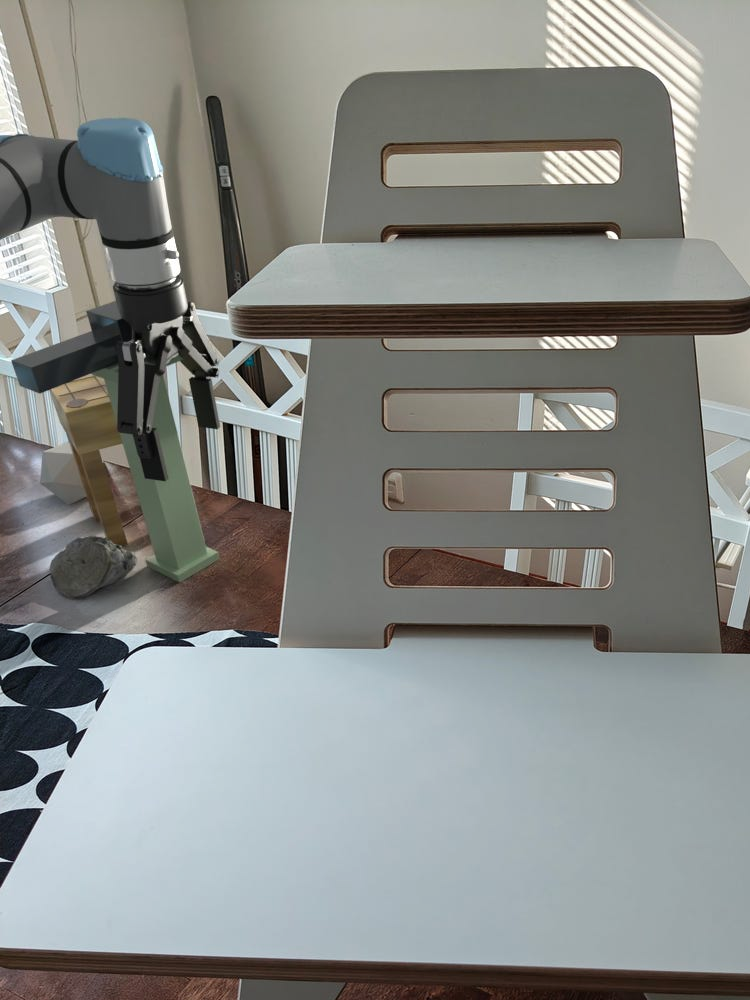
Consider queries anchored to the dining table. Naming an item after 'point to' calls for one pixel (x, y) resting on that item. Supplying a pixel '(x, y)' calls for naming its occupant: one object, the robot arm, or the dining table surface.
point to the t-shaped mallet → (75, 352)
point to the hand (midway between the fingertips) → (184, 451)
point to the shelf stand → (165, 492)
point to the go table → (91, 444)
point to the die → (62, 474)
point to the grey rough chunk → (89, 566)
